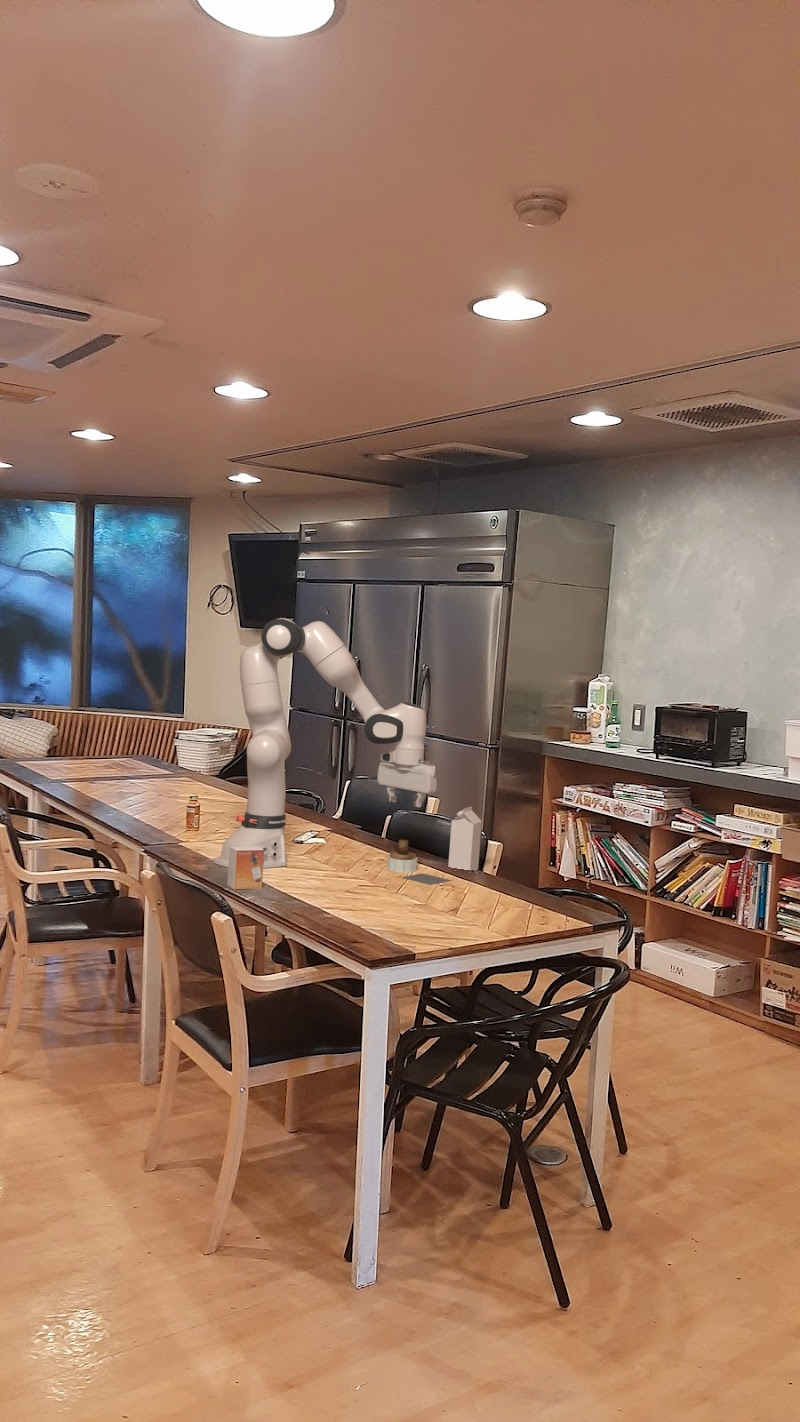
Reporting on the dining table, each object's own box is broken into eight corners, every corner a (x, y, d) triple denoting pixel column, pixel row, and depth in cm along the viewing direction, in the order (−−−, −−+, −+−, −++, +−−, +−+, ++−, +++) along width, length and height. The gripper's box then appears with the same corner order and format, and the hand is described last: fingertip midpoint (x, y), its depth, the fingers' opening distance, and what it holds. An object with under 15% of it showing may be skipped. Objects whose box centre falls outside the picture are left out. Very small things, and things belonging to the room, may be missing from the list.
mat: (430, 886, 304) (430, 884, 304) (400, 878, 311) (400, 877, 311) (452, 881, 312) (452, 880, 312) (422, 874, 319) (422, 873, 319)
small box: (233, 890, 284) (235, 850, 283) (226, 885, 289) (228, 846, 288) (262, 889, 288) (265, 849, 287) (255, 884, 293) (257, 845, 292)
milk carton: (478, 870, 331) (482, 808, 330) (469, 873, 325) (474, 810, 324) (456, 866, 334) (461, 805, 333) (447, 870, 328) (452, 807, 326)
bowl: (403, 875, 317) (404, 861, 316) (381, 869, 322) (382, 856, 322) (422, 871, 323) (423, 858, 323) (399, 866, 329) (400, 853, 328)
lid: (404, 860, 317) (405, 843, 317) (384, 856, 322) (385, 839, 322) (420, 858, 323) (421, 841, 323) (400, 853, 328) (401, 837, 328)
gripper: (443, 762, 317) (439, 809, 318) (389, 753, 330) (386, 798, 331) (429, 762, 312) (425, 810, 313) (376, 753, 326) (372, 799, 326)
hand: (404, 804), depth 322 cm, fingers open, 8 cm apart
